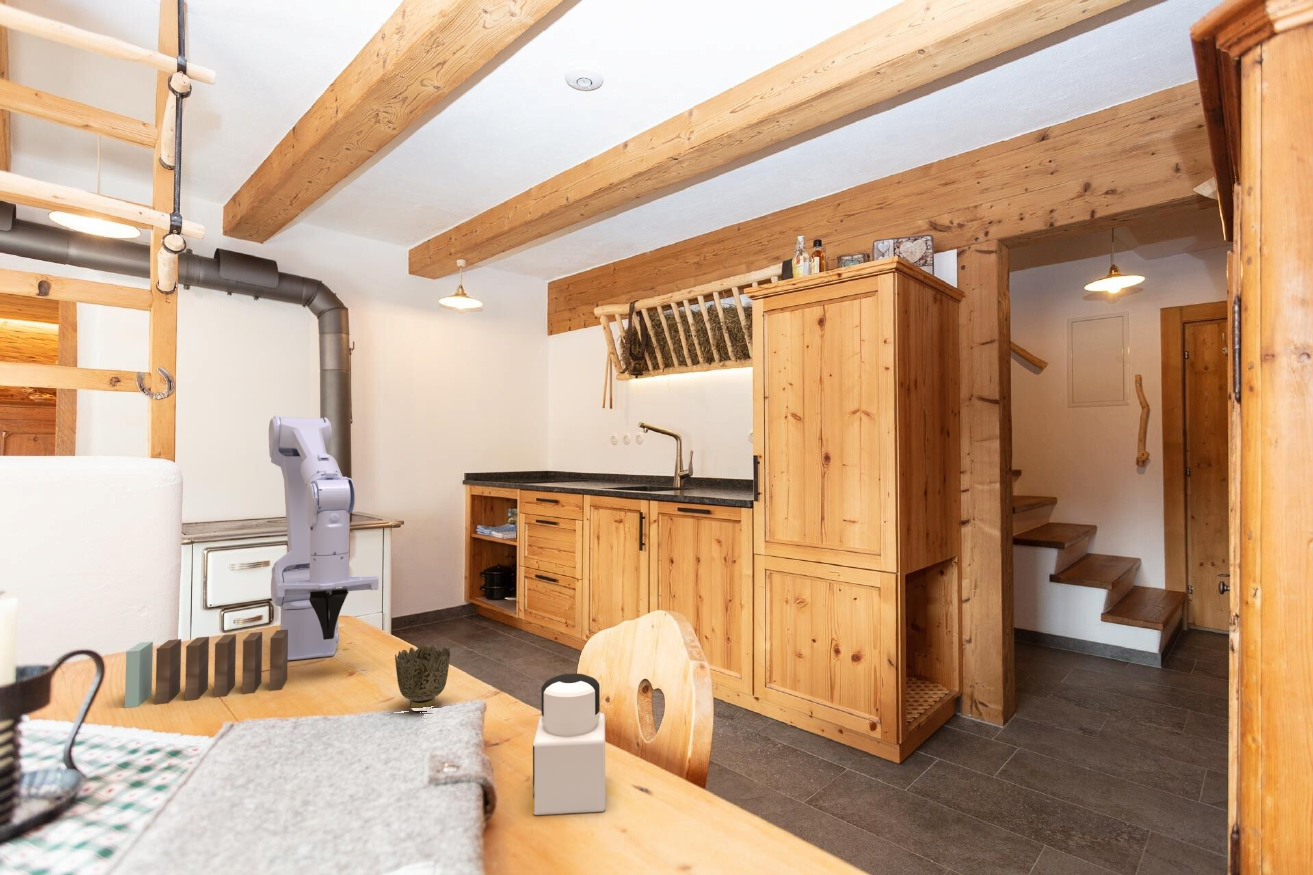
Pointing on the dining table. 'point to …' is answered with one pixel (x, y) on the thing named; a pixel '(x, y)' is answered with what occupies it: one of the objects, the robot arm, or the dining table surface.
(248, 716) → the dining table surface
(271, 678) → the domino
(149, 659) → the domino
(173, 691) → the domino
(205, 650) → the domino
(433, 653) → the cup
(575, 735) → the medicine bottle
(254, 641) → the domino
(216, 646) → the domino
